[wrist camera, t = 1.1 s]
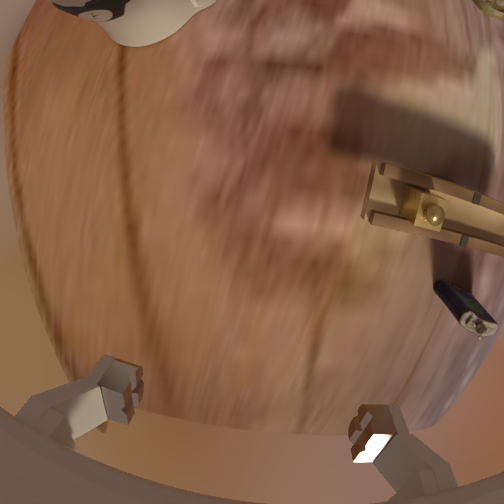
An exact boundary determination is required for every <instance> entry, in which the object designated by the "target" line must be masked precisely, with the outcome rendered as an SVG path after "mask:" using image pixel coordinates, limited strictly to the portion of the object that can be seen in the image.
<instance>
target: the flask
mask: <svg viewBox="0 0 504 504" xmlns="http://www.w3.org/2000/svg"><path fill="white" fill-rule="evenodd" d="M433 290H434V292H435V293H436V294H437V295H438V296H439V298H440V299H441V300H442V301H443V302H444V304H445V305H446V306H447V307H448V309H449V310H450V311H451V313H452V314H453V315H454V317H455V318H456V320H457V321H458V322H459V324H460V325H461V326H463V327H464V328H465V329H467V330H468V331H470V332H472V333H475V334H478V335H481V336H491V335H492V334H494V333H495V331H496V330H497V326H498V324H497V323H496V321H495V320H494V319H493V318H492V317H491V316H490V315H489V314H488V312H487V311H486V310H485V309H484V308H483V307H482V306H481V304H480V303H479V302H478V301H477V300H476V299H475V298H474V296H473V295H472V294H470V293H469V292H468V291H467V292H465V291H463V290H462V289H461V288H459V287H454V286H453V285H450V284H449V283H448V282H447V281H445V280H443V279H442V280H439V281H436V283H435V285H434V287H433ZM481 336H479V337H478V338H479V340H480V339H483V338H481Z"/></svg>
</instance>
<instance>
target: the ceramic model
mask: <svg viewBox="0 0 504 504" xmlns="http://www.w3.org/2000/svg"><path fill="white" fill-rule="evenodd" d="M473 1H474V3H475V4H476V5H477V7H478V8H479V9H480V10H481V11H482V12H483V13H485V14H487V15H489V16H491V17H494V18H497V19H504V0H473Z"/></svg>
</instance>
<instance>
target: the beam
mask: <svg viewBox="0 0 504 504" xmlns="http://www.w3.org/2000/svg"><path fill="white" fill-rule="evenodd" d="M406 185H410V186H414V187H417V188H421V189H424V190H427V191H431V192H433V193H435V194H436V195H438V196H440V197H442V198H444V199H446V200H448V201H449V202H448V206H447V209H446V213H445V218H444V221H443V223H442V227H441V230H440V232H439V231H435V230H431V229H427V228H423V227H419V226H414V225H413V224H412V223H410V222H409V221H408V220H407V219H406V218H404V217H403V216H402V215H401V214H399V210H400V207H401V203H402V199H403V195H404V191H405V186H406ZM360 216H361V217H362V218H363V220H366V221H369V222H370V224H371V225H375V226H380V227H384V228H389V229H393V230H398V231H402V232H407V233H411V234H416V235H420V236H424V237H428V238H433V239H437V240H441V241H445V242H449V243H453V244H457V245H459V246H463V247H469V248H472V249H476V250H480V251H484V252H487V253H491V254H495V255H498V256H502V257H504V203H503V202H500V201H498V200H495V199H493V198H490V197H488V196H485V195H483V194H480V193H478V192H476V191H474V190H471V189H469V188H466V187H464V186H462V185H459V184H457V183H454V182H451V181H449V180H446V179H443V178H440V177H437V176H434V175H431V174H427V173H425V174H423V173H420V172H416V171H413V170H410V169H406V168H403V167H399V166H396V165H392V164H389V163H385V162H381V161H377V160H373V162H372V167H371V171H370V176H369V181H368V185H367V190H366V194H365V199H364V203H363V207H362V211H361V215H360Z"/></svg>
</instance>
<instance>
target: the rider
mask: <svg viewBox="0 0 504 504" xmlns="http://www.w3.org/2000/svg"><path fill="white" fill-rule="evenodd" d="M448 202H449V201H448V200H446V199H444V198H442V197H440V196H438V195H436V194H435V193H433V192H431V191H427V190H424V189H421V188H417V187H414V186H410V185H406V186H405V191H404V195H403V199H402V203H401V207H400V210H399V214H401V215H402V216H403V217H404V218H406V219H407V220H408V221H409V222H410V223H412V224H413V225H414V226H419V227H423V228H427V229H431V230H435V231H439V232H440V230H441V227H442V223H443V221H444V218H445V213H446V209H447V206H448Z"/></svg>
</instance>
